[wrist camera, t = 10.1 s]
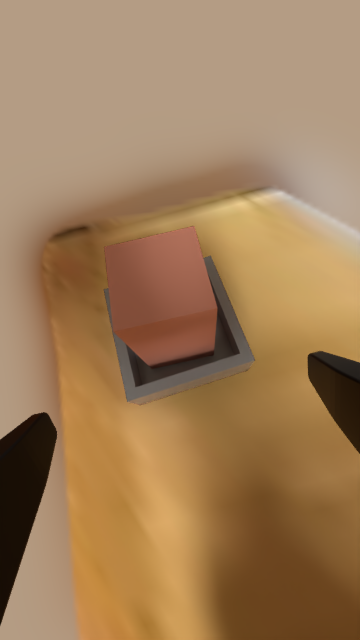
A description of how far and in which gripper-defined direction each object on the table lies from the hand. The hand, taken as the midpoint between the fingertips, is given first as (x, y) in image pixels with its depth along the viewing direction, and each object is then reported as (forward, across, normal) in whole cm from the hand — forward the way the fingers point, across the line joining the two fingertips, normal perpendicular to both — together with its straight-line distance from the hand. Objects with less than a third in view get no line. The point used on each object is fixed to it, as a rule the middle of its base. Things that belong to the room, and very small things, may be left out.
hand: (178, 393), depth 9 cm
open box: (+13, 0, +4) cm, 14 cm away
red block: (+12, 0, +3) cm, 13 cm away
